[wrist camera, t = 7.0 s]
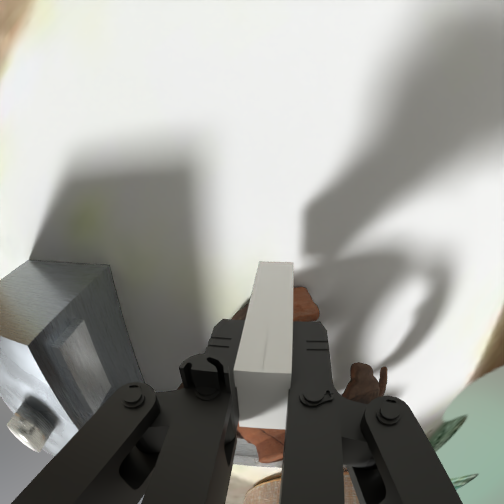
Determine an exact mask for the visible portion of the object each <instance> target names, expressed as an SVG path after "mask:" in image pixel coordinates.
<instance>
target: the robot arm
mask: <svg viewBox="0 0 504 504" xmlns="http://www.w3.org/2000/svg"><path fill="white" fill-rule="evenodd" d="M179 370H180V374H181V378H182V382H183V385H184V388H182V389H179V390H175V391H169V392H158V393H155V392H154V390H153V388H152V387H150V386H149V385H147V384H145V383H141V382H132V383H128V384H125V385H123V386H121V387H120V388H119V389H117V390H116V391H115V392H114V393H113V394H112V395H111V397H110V398H109V399H108V400H107V401H106V402H105V403H104V404H103V405H102V406H101V407H100V408H99V409H98V410H97V411H96V413H95V414H94V415H93V416H92V417H91V418H90V419H89V420H88V421H87V422H86V423H85V424H84V425H83V427H82V428H81V429H80V430H79V431H78V432H77V433H76V434H75V435H74V436H73V437H72V438H71V439H70V440H69V442H68V443H67V444H66V445H65V446H64V447H63V448H62V449H61V450H60V451H59V452H58V453H57V454H56V456H55V457H54V458H53V459H52V460H51V461H50V462H49V463H48V464H47V465H46V466H45V467H44V468H43V470H42V471H41V472H40V473H39V474H38V475H37V476H36V477H35V478H34V479H33V480H32V482H31V483H30V484H29V485H28V486H27V487H26V488H25V489H24V490H23V491H22V492H21V493H20V494H19V496H18V497H17V498H16V499H15V500H14V501H13V502H12V503H11V504H137V503H138V502H139V501H140V499H141V498H142V497H143V495H144V494H145V495H144V498H143V500H142V503H141V504H225V501H226V496H227V491H228V486H229V481H230V476H231V471H232V466H233V460H234V455H235V450H236V445H237V433H236V431H237V426H238V421H239V426H240V427H251V428H266V429H285V440H284V449H283V463H282V475H281V486H280V496H279V504H345V498H344V472H343V464H344V465H346V467H347V470H348V473H349V475H350V478H351V481H352V484H353V486H354V489H355V492H356V495H357V498H358V500H359V503H360V504H463V503H462V501H461V500H460V498H459V495H458V494H457V492H456V490H455V488H454V486H453V484H452V482H451V480H450V478H449V477H448V475H447V473H446V471H445V469H444V467H443V465H442V464H441V462H440V460H439V458H438V456H437V454H436V453H435V451H434V449H433V447H432V446H431V444H430V442H429V440H428V438H427V437H426V435H425V433H424V431H423V430H422V428H421V426H420V425H419V423H418V421H417V419H416V418H415V416H414V414H413V413H412V411H411V409H410V408H409V406H408V405H407V404H406V403H405V402H404V401H402V400H400V399H399V398H397V397H392V396H382V397H378V398H376V399H373V400H372V401H371V402H370V403H369V404H364V403H359V402H355V401H352V400H349V399H346V398H345V397H343V396H341V395H340V394H339V393H338V392H337V391H336V389H335V388H334V386H333V382H332V373H331V363H330V354H329V345H328V337H327V330H326V329H325V328H324V326H323V325H322V324H321V323H320V322H305V321H293V262H259V264H258V268H257V273H256V277H255V281H254V285H253V290H252V294H251V298H250V303H249V307H248V311H247V315H246V319H245V320H231V319H222V320H221V321H220V322H219V323H218V324H217V325H216V326H215V327H214V329H213V332H212V334H211V339H210V340H209V343H208V347H207V348H206V351H205V354H198V355H195V356H192V357H190V358H188V359H186V360H185V361H183V363H182V364H181V365H180V367H179Z"/></svg>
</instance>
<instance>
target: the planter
mask: <svg viewBox="0 0 504 504" xmlns="http://www.w3.org/2000/svg"><path fill="white" fill-rule="evenodd" d="M343 472H344V498H345V504H360V503H359V500H358V498H357V495H356V492H355V489H354V486H353V484H352V481H351V478H350V475H349V473H348V472H347V471H343ZM280 486H281V477H279V478H276V479H272V480H269V481H266V482H263V483H261V484H259V485H257V486H255V487H253V488H252V489H250V490H249V491H248V492H247V493H246V496H245V499H244V503H243V504H279V496H280Z"/></svg>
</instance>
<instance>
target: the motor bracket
mask: <svg viewBox="0 0 504 504" xmlns="http://www.w3.org/2000/svg"><path fill="white" fill-rule="evenodd" d="M132 382H141V383H144V380H143V377H142V375H141V372H140V369H139V366H138V363H137V360H136V358H135V355H134V352H133V349H132V345H131V342H130V339H129V336H128V333H127V330H126V326H125V323H124V320H123V316H122V313H121V309H120V305H119V302H118V298H117V294H116V290H115V286H114V282H113V278H112V274H111V270H110V266H109V265H98V264H81V263H65V262H49V261H34V260H28V261H26V262H25V263H23V264H22V265H21V266H19V267H18V268H16V269H15V270H14V271H12V272H11V273H9V274H8V275H7V276H5V277H4V278H3V279H1V280H0V396H1V397H2V399H3V400H4V402H5V403H6V404H7V406H8V407H9V408H10V410H11V411H12V412H13V414H14V415H13V417H12V418H11V419H10V421H9V422H8V424H7V427H8V428H9V430H10V431H11V432H12V433H13V434H14V435H15V436H16V437H17V438H18V439H19V440H20V441H21V442H22V443H24V444H25V445H26V446H28V447H29V448H31V449H32V450H34V451H36V452H40V451H41V450H42V449H43V450H44V451H45V452H46V453H48V454H50V455H52V456H54V457H55V456H56V454H57V453H58V452H59V451H60V450H61V449H62V448H63V447H64V446H65V445H66V444H67V443H68V442H69V440H70V439H71V438H72V437H73V436H74V435H75V434H76V433H77V432H78V431H79V430H80V429H81V428H82V427H83V425H84V424H85V423H86V422H87V421H88V420H89V419H90V418H91V417H92V416H93V415H94V414H95V413H96V411H97V410H98V409H99V408H100V407H101V406H102V405H103V404H104V403H105V402H106V401H107V400H108V399H109V398H110V397H111V395H112V394H113V393H114V392H115V391H116V390H117V389H119V388H120V387H121V386H123V385H125V384H128V383H132ZM282 463H283V460H282V461H277V462H273V463H260V462H259V458H258V453H257V449H256V446H255V445H253V444H250V443H248V442H247V441H246V440H245V439H239V438H237V445H236V450H235V455H234V460H233V464H239V465H249V466H261V467H278V468H282ZM343 467H346V465H344V464H343Z"/></svg>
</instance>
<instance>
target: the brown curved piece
mask: <svg viewBox="0 0 504 504" xmlns="http://www.w3.org/2000/svg"><path fill="white" fill-rule="evenodd" d="M248 307H249V304H247V305H246V306H245V307H244V308H242V309H241V310H239V311H238V312H237V313H236V314H235V315H234V316H233V317H232V319H231V320H245V319H246V315H247V311H248ZM319 315H320V313H319V309H318V307H317V305H316V304H315V303H314V302H313V300H312V298H311V296H310V294H309V293H308V290H307V289H306V288H305V287H297V288H293V321H305V322H310V321H316V320H317V319H318V318H319ZM350 376H351V381H350V382H349V383H348V385H347V387H346V389H345V391H344V393H343V394H342V396H343V397H345V398H346V399H349V400H352V401H355V402H359V403H364V404H369V403H370V402H371V401H372V400H373V399H376V398H378V397H382V396H383V395H384V393H385V390H386V384H387V368H386V367H382V368H381V370H380V379H379V382H378V381H377V379H376V378H375V377H374V376H373V369H372V367H371V366H369V365H367V364H363V363H360V362H357V363H354V364H352V366H351V370H350ZM182 388H184V385H183V383H182V384H181V385H180V386H179V388H178V389H177V390H179V389H182ZM236 433H237V438H239V439H245V440H246V441H247V442H248V443H250V444H253V445H255V446H256V449H257V453H258V458H259V462H260V463H273V462H277V461H282V460H283V449H284V440H285V429H266V428H251V427H240V426H239V421H238V426H237V431H236Z"/></svg>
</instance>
